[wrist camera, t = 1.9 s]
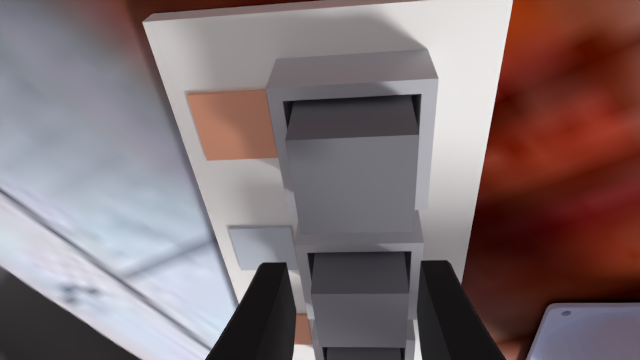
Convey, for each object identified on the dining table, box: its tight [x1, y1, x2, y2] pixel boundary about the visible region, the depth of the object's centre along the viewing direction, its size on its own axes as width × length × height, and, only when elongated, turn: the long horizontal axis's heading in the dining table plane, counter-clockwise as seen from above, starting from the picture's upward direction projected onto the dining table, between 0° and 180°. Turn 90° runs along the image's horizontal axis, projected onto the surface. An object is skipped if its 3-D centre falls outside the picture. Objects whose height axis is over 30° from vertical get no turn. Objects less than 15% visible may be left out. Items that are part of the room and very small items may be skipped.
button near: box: [285, 94, 419, 234], centre depth 15 cm, size 4×4×3 cm
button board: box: [142, 0, 513, 360], centre depth 21 cm, size 13×24×4 cm, turn 5°
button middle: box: [311, 251, 409, 348], centre depth 19 cm, size 4×4×3 cm
